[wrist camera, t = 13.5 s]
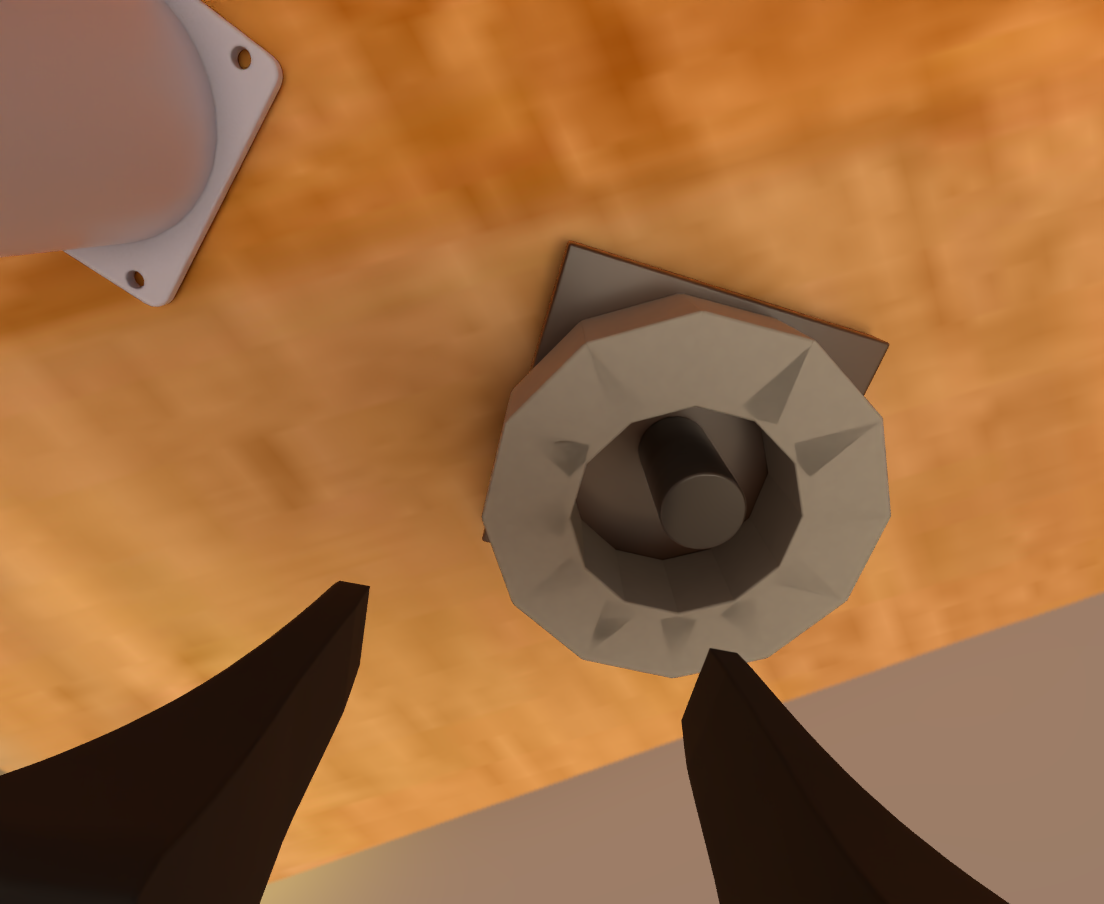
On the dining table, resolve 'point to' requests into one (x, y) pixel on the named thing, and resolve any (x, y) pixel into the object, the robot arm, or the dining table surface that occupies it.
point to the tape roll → (720, 572)
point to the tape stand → (677, 418)
